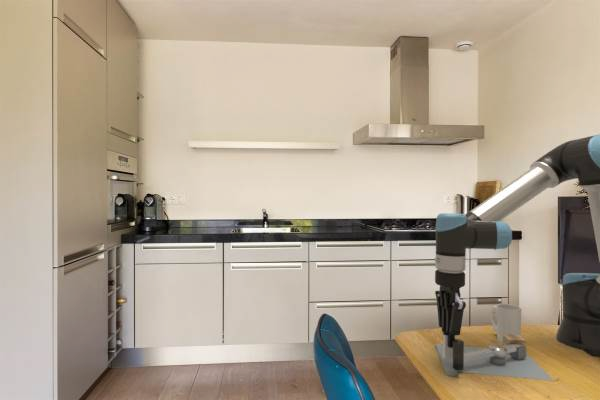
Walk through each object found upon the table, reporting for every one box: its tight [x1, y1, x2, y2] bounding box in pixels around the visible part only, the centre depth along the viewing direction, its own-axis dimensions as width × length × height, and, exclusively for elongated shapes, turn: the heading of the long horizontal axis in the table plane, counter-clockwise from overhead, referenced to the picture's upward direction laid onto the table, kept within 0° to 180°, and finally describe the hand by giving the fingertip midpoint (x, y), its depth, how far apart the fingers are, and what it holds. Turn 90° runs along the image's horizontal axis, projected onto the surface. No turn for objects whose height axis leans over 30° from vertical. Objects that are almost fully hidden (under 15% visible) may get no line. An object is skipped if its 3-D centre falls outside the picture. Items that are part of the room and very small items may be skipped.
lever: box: [453, 338, 527, 370], centre depth 99 cm, size 25×4×7 cm, turn 112°
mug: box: [489, 303, 522, 343], centre depth 118 cm, size 10×7×12 cm, turn 21°
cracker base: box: [434, 343, 555, 382], centre depth 101 cm, size 25×18×3 cm
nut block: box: [502, 334, 527, 355], centre depth 107 cm, size 4×4×4 cm
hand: (448, 357), depth 99 cm, fingers closed
